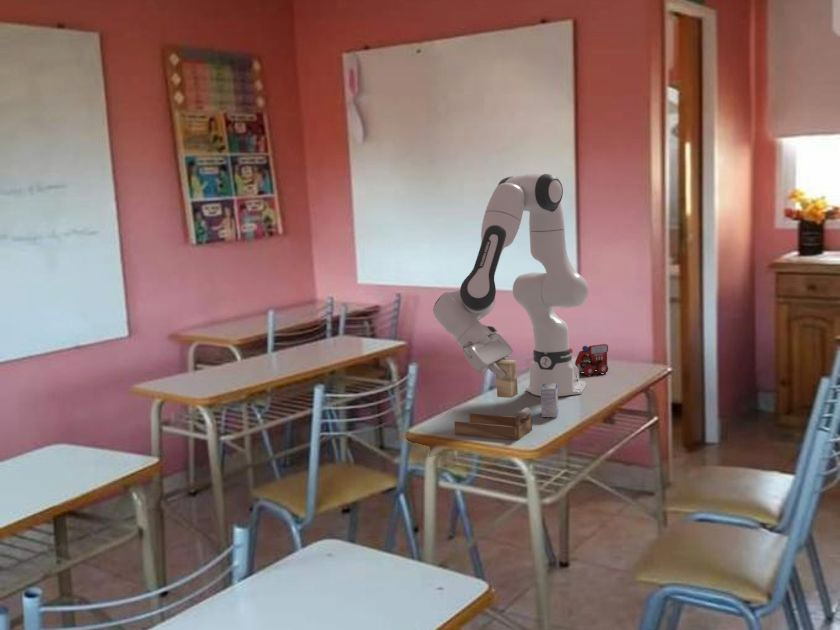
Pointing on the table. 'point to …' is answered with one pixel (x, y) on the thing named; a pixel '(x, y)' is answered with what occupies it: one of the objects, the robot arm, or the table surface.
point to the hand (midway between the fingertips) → (508, 373)
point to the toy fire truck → (592, 359)
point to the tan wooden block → (507, 379)
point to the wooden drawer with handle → (496, 425)
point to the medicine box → (549, 400)
